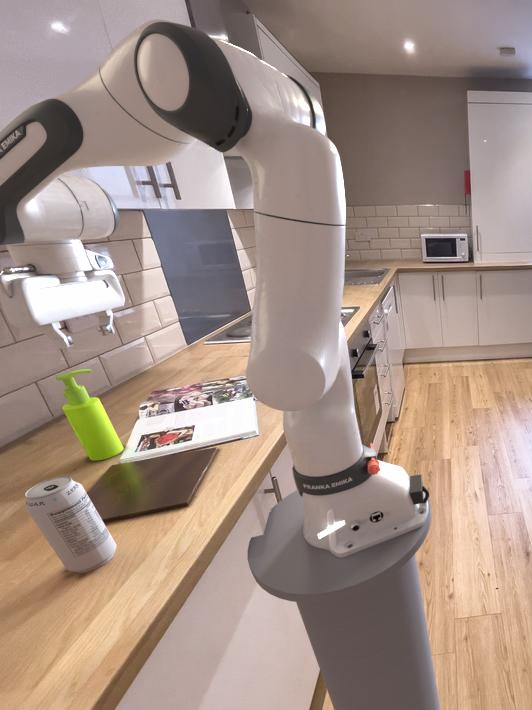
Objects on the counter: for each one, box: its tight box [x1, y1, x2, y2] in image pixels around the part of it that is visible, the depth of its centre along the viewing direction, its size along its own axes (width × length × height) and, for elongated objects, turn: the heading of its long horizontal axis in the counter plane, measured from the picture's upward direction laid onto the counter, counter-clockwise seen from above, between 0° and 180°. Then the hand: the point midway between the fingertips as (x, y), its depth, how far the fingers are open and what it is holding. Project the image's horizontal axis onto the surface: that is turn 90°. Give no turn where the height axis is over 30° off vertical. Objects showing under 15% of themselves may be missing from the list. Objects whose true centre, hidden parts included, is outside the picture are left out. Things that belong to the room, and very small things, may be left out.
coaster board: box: [86, 446, 219, 524], centre depth 83 cm, size 20×20×1 cm
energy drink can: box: [24, 475, 118, 574], centre depth 63 cm, size 6×6×15 cm
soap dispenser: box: [55, 368, 125, 462], centre depth 91 cm, size 6×7×20 cm
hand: (88, 340), depth 75 cm, fingers open, 8 cm apart
